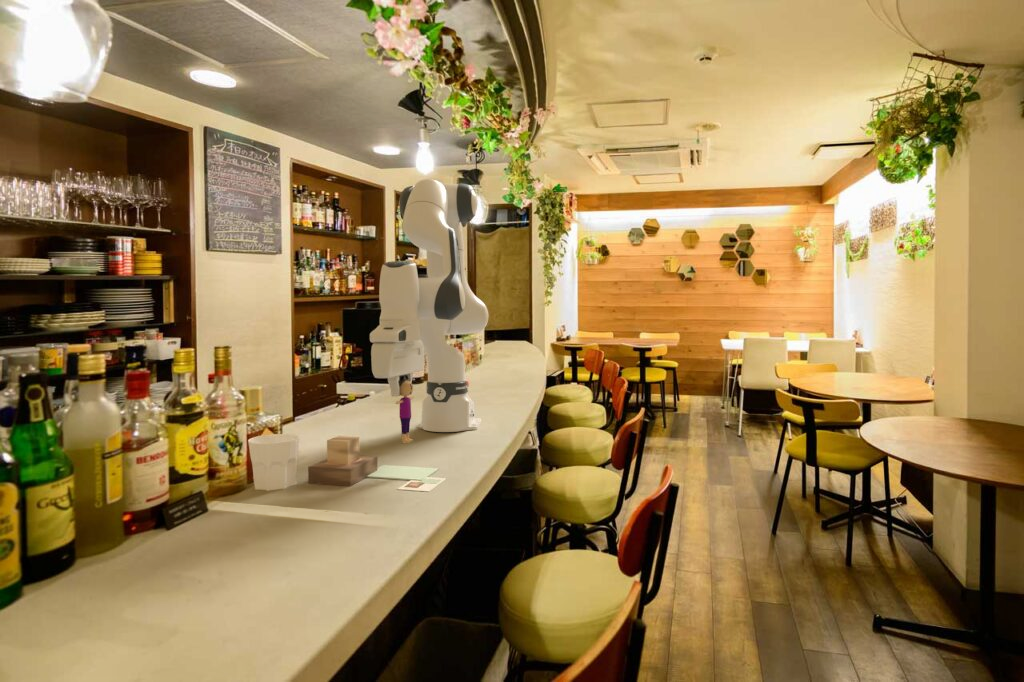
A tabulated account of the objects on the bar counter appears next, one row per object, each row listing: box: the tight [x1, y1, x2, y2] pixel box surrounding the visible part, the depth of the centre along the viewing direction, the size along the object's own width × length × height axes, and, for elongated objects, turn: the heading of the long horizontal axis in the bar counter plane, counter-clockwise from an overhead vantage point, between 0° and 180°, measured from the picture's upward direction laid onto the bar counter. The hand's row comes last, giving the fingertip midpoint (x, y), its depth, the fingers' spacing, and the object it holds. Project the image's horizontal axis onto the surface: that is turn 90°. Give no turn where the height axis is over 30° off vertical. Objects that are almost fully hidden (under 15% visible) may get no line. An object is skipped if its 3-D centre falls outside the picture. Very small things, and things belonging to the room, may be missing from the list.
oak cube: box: [326, 435, 360, 464], centre depth 134 cm, size 5×5×5 cm
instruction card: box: [397, 476, 447, 493], centre depth 129 cm, size 10×7×1 cm
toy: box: [395, 375, 415, 444], centre depth 137 cm, size 10×6×15 cm, turn 169°
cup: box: [247, 433, 300, 492], centre depth 128 cm, size 10×10×10 cm
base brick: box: [307, 455, 378, 487], centre depth 134 cm, size 12×10×4 cm
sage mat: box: [367, 464, 440, 481], centre depth 137 cm, size 10×14×1 cm
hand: (400, 394), depth 137 cm, fingers closed on toy, 3 cm apart
